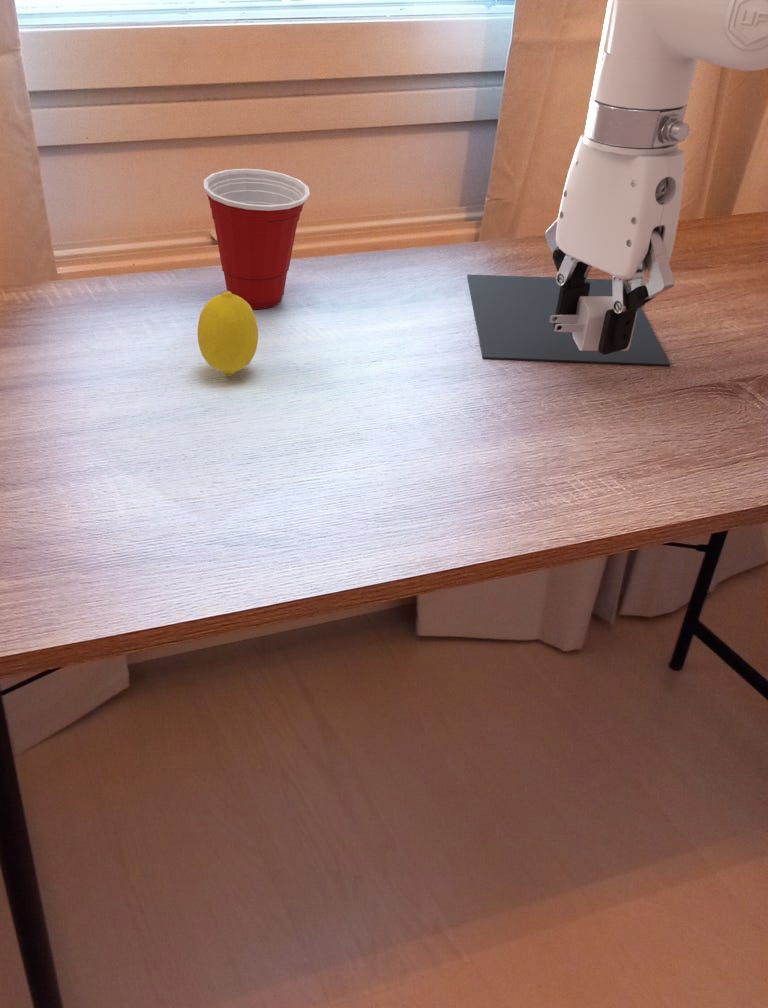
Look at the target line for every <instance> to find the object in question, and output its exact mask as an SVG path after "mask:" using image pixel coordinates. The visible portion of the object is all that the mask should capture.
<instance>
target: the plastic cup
mask: <svg viewBox="0 0 768 1008" xmlns="http://www.w3.org/2000/svg"><path fill="white" fill-rule="evenodd" d="M203 191H204V193H205V194H206V196H207V199H208V202H209V208H210V211H211V218H212V220H213V225H214V229H215V235H216V241H217V247H218V252H219V258H220V264H221V271H222V272H223V275H224V281H225V286H226V287H225V288H226V291H230V292H231V293H232V294H234V295H237V296H239V297H241V298H242V299H244V300H245V301H246V302H247V303H248V304H249V305H250V307H251V308H252V310H263V309H270V308H272V307H275V306H277V305H279V304H280V303H281V302H282V301H283V296H284V293H285V288H286V282H287V281H286V280H287V276H288V271H289V270H290V264H291V260H292V259H291V258H292V253H293V248H294V243H295V237H296V232H297V228H298V222H300V217H301V212H302V211H303V207H304V205H305V203H306V202H307V200H308V199H309V197H310V196H311V192H310V188H309V186H308V185H307V184H306V183H304V182H303V181H301V180H300V179H299V178H296V177H293V176H290V175H288V174H285V173H281V172H277V171H273V170H267V169H256V168H236V169H224V170H221V171H217V172H214V173H211V174H210V175H208V176H207V177H206V178H204V179H203Z"/></svg>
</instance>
